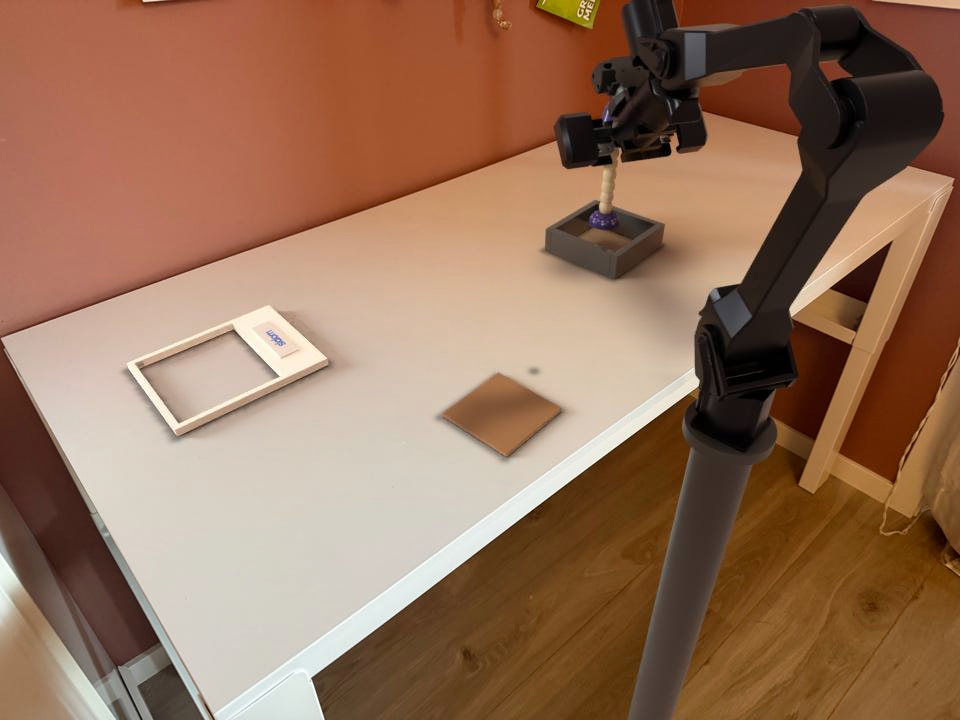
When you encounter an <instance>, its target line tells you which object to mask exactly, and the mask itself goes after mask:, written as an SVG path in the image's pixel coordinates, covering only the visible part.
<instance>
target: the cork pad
mask: <svg viewBox="0 0 960 720" xmlns="http://www.w3.org/2000/svg"><path fill="white" fill-rule="evenodd" d="M562 409H563V407H561V406H559V405H557V404H555V403H554V402H552V401H550V400H548V399H546V398H545V397H544V396H541V395H539V394H537V393H535V392H533V391H532V390H530V389H528V388H526V387H525V386H524V385H521V384H519V383H518V382H516V381H514V380H513V379H511V378H509V377H508V376H505V375H503V374H501V373H499V372H497V373H496V374H494V375H493V376H492V377H490V378H489V379H487V380H486V381H484V382H483V383H482V384H480V385H479V386H478V387H476V388H475V389H474V390H473V391H471V392H470V393H468V394H467V395H465V396H464V397H462V398H461V399H460V400H458V401H457V402H456V403H454V404H453V405H452V406H450V407H449V408H448V409H446V410H445V411H443V412H442V418H444V419H445V420H447V421H449V422H450V423H452V424H453V425H455V426H456V427H458V428H460V429H461V430H463V431H464V432H466V433H467V434H469V435H471V436H472V437H474V438H476V439H477V440H478V441H480V442H481V443H484V444H485V445H486V446H488V447H490V448H491V449H493V450H495V451H496V452H497V453H499V454H501V455H502V456H504V457H505V458H508V457H510V455H511V454H512V453H514V452H515V451H516V450H517V449H518V448H520V447H521V446H522V445H524V444H525V442H526V441H528V440H529V439H530V438H532V437H533V436H534V435H535V434H536V433H537V432H539V431H540V430H541V429H543V427H545V426H546V425H547V424H548V423H550V422H551V421H552V420H553V419H554V418H556V417H557V416H558V415H559V414H560V413H561V412H562Z"/></svg>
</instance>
